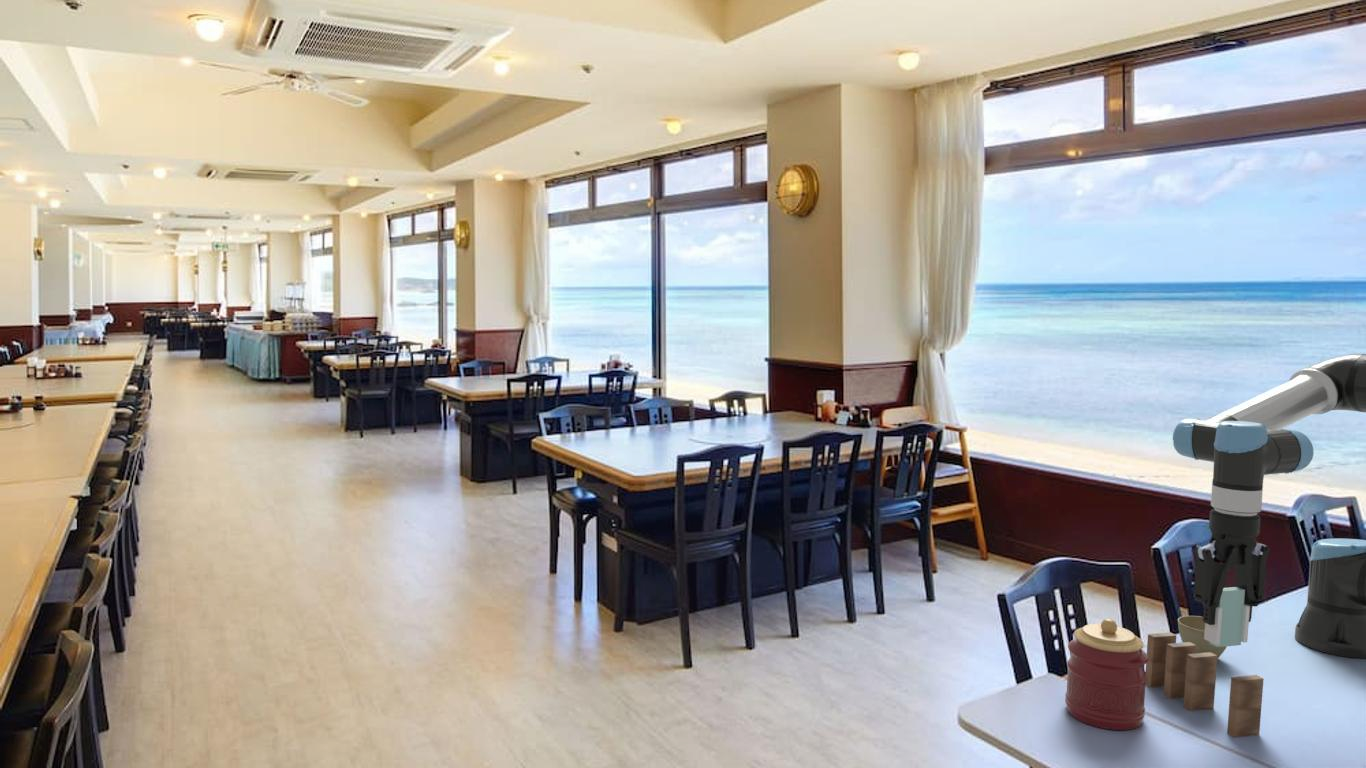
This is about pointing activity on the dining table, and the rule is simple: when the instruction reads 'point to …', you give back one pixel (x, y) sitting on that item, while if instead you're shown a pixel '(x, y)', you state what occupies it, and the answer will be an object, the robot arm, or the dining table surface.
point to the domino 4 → (1231, 616)
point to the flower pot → (1197, 634)
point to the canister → (1106, 677)
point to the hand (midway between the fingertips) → (1225, 640)
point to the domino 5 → (1245, 705)
